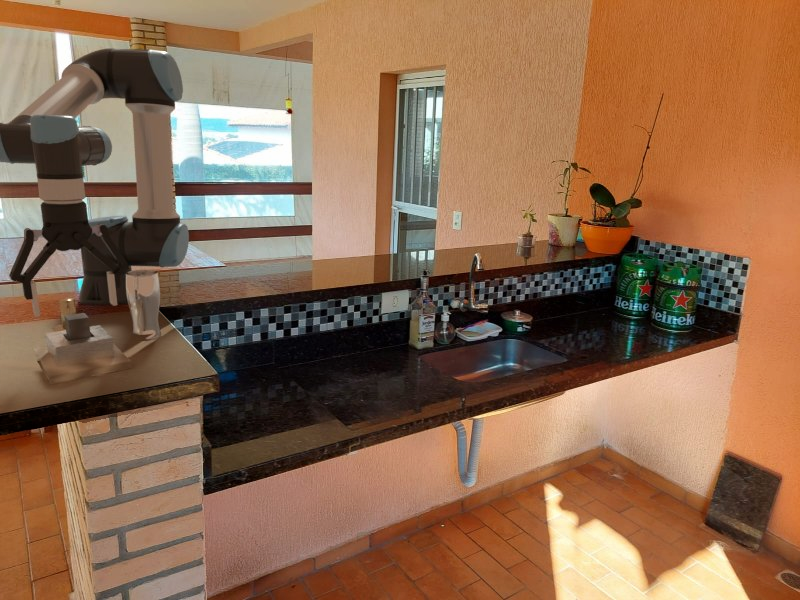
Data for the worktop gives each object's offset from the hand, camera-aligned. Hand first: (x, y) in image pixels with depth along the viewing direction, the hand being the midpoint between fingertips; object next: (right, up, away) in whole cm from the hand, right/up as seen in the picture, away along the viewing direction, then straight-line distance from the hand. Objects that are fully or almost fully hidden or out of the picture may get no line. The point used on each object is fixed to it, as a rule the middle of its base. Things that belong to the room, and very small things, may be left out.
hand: (76, 309), depth 116 cm
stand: (-11, -6, +19) cm, 23 cm away
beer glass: (+6, -7, +18) cm, 20 cm away
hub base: (0, -11, +2) cm, 11 cm away
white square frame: (0, -9, +2) cm, 9 cm away
